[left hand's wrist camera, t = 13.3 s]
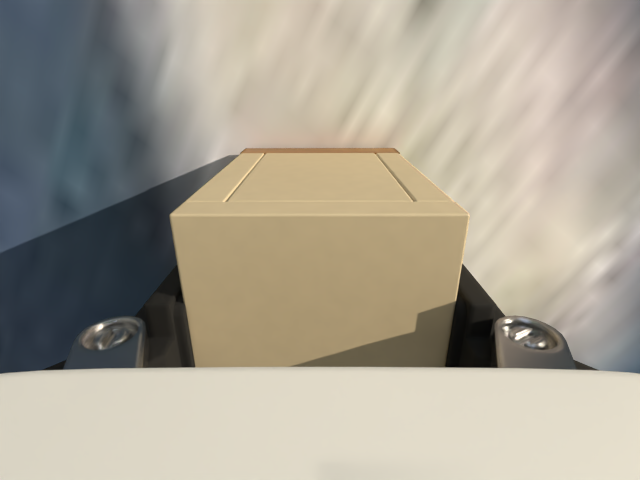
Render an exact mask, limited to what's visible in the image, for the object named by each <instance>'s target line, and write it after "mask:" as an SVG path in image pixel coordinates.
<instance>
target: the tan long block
mask: <svg viewBox="0 0 640 480" xmlns="http://www.w3.org/2000/svg"><path fill="white" fill-rule="evenodd" d="M469 218H470V215H469V213H468V212H467V211H465V210H464V209H463V208H462V207H461V206H460V205H459V204H457V203H456V202H454V201H453V200H452V199H451V198H450V197H449V196H448V195H446V194H445V193H444V192H443V191H442V190H441V189H439V188H438V187H437V186H436V185H435V184H434V183H432V182H431V181H430V180H429V179H428V178H427V177H425V176H424V175H423V174H422V173H421V172H420V171H419V170H417V169H416V168H415V167H414V166H413V165H412V164H410V163H409V162H408V161H407V160H406V159H405V158H403V157H402V156H401V155H400V153H399V152H398V151H397V150H396V149H395V148H246V149H245V150H243V151H242V152H241V153H240V155H239V156H238V157H236V158H235V159H234V160H233V161H232V162H231V163H229V164H228V165H227V166H226V167H225V168H224V169H222V170H221V171H220V172H219V173H218V174H216V175H215V176H214V177H213V178H212V179H211V180H209V181H208V182H207V183H206V184H205V185H203V186H202V187H201V188H200V189H199V190H198V191H196V192H195V193H194V194H193V195H192V196H191V197H189V198H188V199H187V200H186V201H185V202H184V203H182V204H181V205H180V206H179V207H178V208H177V209H175V210H174V211H173V212H172V213H171V214H170V223H171V229H172V235H173V241H174V247H175V253H176V259H177V265H178V271H179V277H180V283H181V289H182V295H183V301H184V304H185V307H186V313H187V320H188V326H189V332H190V338H191V344H192V350H193V356H194V362H195V368H196V367H439V368H445V365H446V358H447V352H448V346H449V340H450V334H451V328H452V322H453V316H454V309H455V304H456V298H457V292H458V286H459V280H460V273H461V267H462V261H463V255H464V249H465V242H466V236H467V230H468V224H469Z"/></svg>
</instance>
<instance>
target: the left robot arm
mask: <svg viewBox="0 0 640 480" xmlns="http://www.w3.org/2000/svg"><path fill="white" fill-rule="evenodd" d="M0 480H640V374H636V373H627V372H611V371H599V370H597V369H594V368H592V367H589V366H587V365H585V364H582V363H580V362H577V361H575V360H573V357H572V355H571V352H570V350H569V347H568V345H567V342H566V340H565V338H564V337H563V335H562V334H561V333H560V332H558V331H557V330H556V329H555V328H553V327H551V326H550V325H548V324H546V323H544V322H541V321H539V320H536V319H532V318H528V317H523V316H505V315H504V314H503V313H502V312H501V310H500V309H499V308H498V307H497V305H496V304H495V303H494V301H493V300H492V299H491V298H490V296H489V295H488V294H487V293H486V292H485V290H484V289H483V288H482V287H481V286H480V284H479V283H478V282H477V281H476V279H475V278H474V277H473V276H472V275H471V273H470V272H469V271H468V270H467V268H466V267H465V266H464V265H463V264H462V267H461V273H460V280H459V286H458V292H457V298H456V304H455V309H454V316H453V322H452V328H451V334H450V340H449V346H448V352H447V358H446V365H445V368H439V367H196V368H195V362H194V356H193V350H192V344H191V338H190V332H189V326H188V320H187V313H186V307H185V304H184V301H183V295H182V289H181V283H180V277H179V271H178V265H176V266H175V268H174V269H173V270H172V271H171V273H170V274H169V275H168V276H167V277H166V279H165V280H164V281H163V282H162V284H161V285H160V286H159V287H158V288H157V290H156V291H155V292H154V293H153V294H152V296H151V297H150V298H149V299H148V301H147V302H146V303H145V304H144V306H143V307H142V308H141V310H140V311H139V312H138V313H137V314H136V316H117V317H112V318H108V319H104V320H101V321H99V322H96V323H94V324H92V325H90V326H89V327H87V328H85V329H84V330H83V331H82V332H80V333H79V334H78V335H77V337H76V338H75V340H74V342H73V345H72V347H71V350H70V352H69V355H68V357H67V360H65V361H63V362H60V363H58V364H56V365H53V366H51V367H48V368H46V369H43V370H41V371H28V372H15V373H3V374H0Z"/></svg>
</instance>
